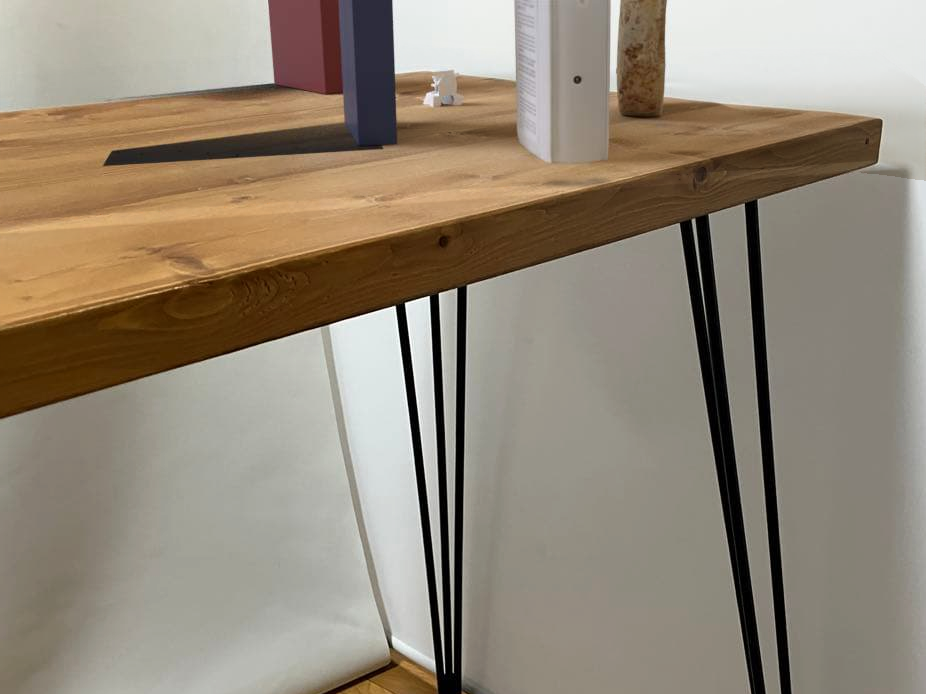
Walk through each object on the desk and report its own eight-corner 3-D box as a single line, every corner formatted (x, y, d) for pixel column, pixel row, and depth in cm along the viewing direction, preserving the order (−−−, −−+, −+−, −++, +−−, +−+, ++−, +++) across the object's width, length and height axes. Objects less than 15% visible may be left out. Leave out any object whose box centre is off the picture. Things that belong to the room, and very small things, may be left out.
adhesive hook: (437, 114, 88) (435, 72, 86) (419, 110, 89) (417, 70, 88) (469, 110, 89) (467, 69, 88) (450, 106, 91) (448, 67, 90)
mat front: (103, 174, 67) (101, 166, 67) (122, 140, 78) (121, 133, 78) (385, 156, 71) (384, 149, 70) (363, 126, 82) (363, 119, 82)
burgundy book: (314, -83, 91) (342, -82, 92) (261, -80, 98) (286, -79, 100) (325, 94, 96) (351, 92, 97) (273, 84, 103) (298, 83, 105)
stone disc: (623, 108, 89) (624, -26, 85) (669, 108, 88) (673, -27, 84) (610, 129, 79) (611, -21, 75) (663, 129, 79) (666, -22, 75)
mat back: (157, 122, 86) (156, 115, 86) (101, 105, 96) (100, 99, 95) (350, 100, 96) (349, 94, 96) (282, 87, 105) (281, 82, 105)
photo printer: (617, 169, 65) (620, -58, 61) (547, 174, 64) (543, -57, 60) (573, 141, 75) (572, -58, 70) (510, 145, 74) (505, -57, 69)
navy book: (347, -93, 66) (389, -92, 67) (333, -88, 75) (370, -88, 76) (358, 145, 71) (397, 144, 72) (344, 123, 80) (379, 122, 81)
